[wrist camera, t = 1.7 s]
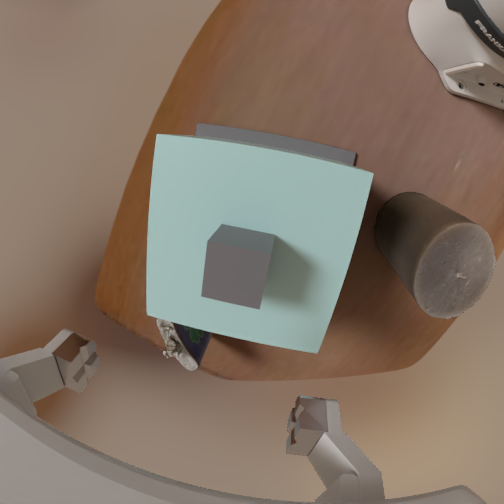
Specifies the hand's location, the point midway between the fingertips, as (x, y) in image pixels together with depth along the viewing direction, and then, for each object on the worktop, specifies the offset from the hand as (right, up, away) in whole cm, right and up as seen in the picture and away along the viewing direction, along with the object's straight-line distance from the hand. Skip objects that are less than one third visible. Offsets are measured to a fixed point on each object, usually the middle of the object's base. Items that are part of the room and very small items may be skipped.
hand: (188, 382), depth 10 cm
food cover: (+3, +10, +25) cm, 27 cm away
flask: (-6, -3, +32) cm, 33 cm away
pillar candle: (+22, +8, +24) cm, 34 cm away
